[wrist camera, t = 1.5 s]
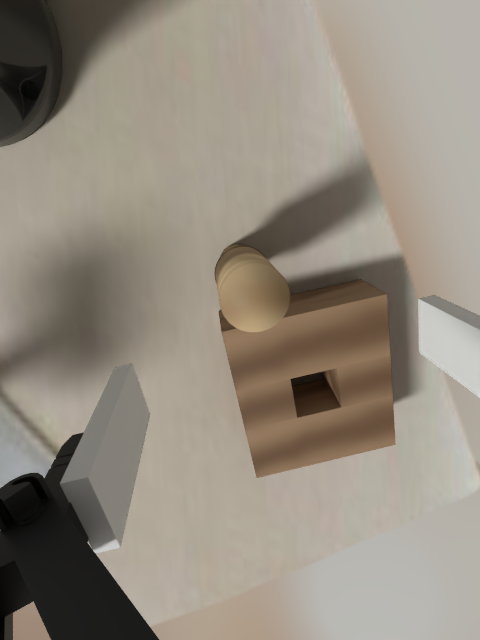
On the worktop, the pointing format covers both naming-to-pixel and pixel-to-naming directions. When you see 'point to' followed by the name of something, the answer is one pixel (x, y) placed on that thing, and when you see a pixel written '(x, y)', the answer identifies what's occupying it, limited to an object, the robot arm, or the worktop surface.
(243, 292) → the peg
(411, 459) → the worktop surface
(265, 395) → the socket block
